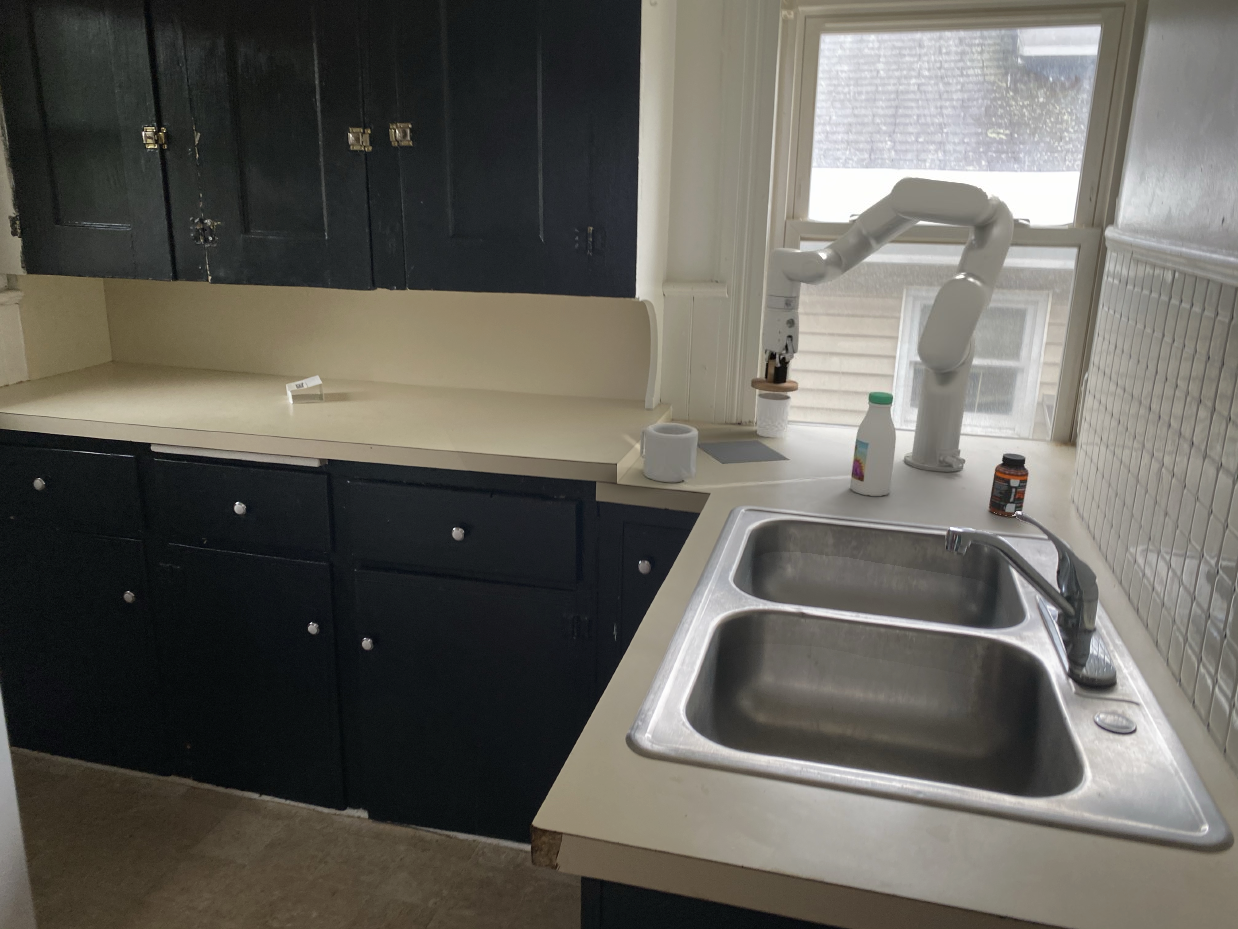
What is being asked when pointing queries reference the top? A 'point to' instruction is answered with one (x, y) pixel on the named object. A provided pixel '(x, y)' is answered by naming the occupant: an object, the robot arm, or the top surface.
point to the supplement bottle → (1009, 485)
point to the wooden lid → (768, 383)
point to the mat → (741, 452)
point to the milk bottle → (874, 448)
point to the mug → (669, 452)
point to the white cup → (772, 414)
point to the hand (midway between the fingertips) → (775, 380)
